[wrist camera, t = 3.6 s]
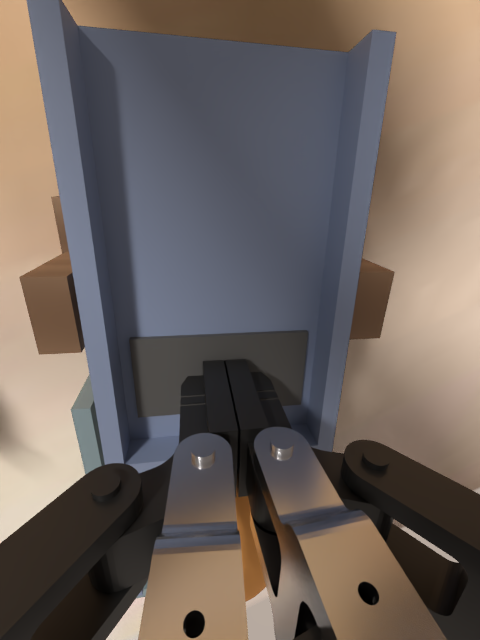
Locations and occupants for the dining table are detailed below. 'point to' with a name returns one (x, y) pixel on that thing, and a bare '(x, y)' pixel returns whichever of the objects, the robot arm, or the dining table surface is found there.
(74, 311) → the lever stand
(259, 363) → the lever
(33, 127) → the dining table surface
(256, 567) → the ball
